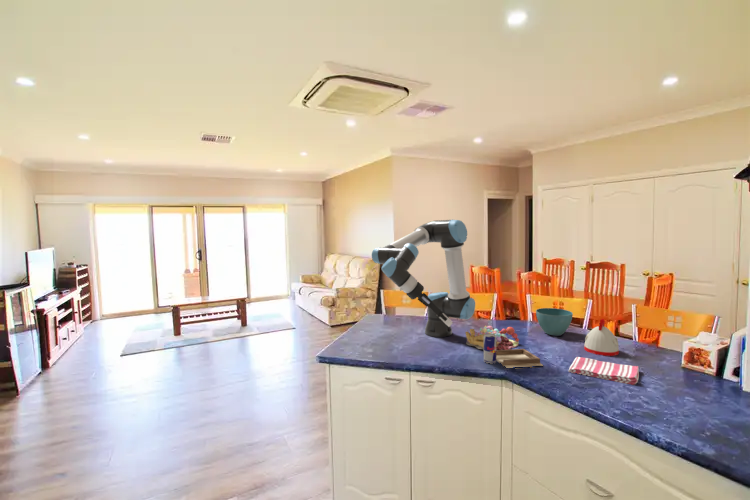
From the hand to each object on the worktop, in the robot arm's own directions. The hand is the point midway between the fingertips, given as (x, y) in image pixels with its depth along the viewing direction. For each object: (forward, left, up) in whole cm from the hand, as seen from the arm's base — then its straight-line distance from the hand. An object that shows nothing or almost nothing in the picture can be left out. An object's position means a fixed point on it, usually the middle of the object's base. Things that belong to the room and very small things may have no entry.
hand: (449, 323), depth 160 cm
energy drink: (0, +18, -18) cm, 26 cm away
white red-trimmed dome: (-5, +75, -18) cm, 77 cm away
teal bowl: (-35, +70, -18) cm, 80 cm away
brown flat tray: (0, +30, -18) cm, 35 cm away
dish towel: (+18, +58, -19) cm, 64 cm away
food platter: (-24, +29, -19) cm, 42 cm away
